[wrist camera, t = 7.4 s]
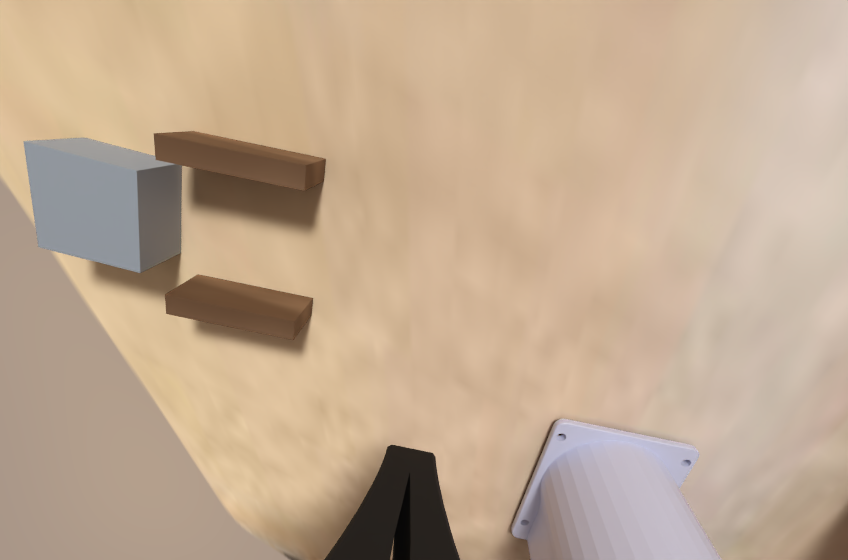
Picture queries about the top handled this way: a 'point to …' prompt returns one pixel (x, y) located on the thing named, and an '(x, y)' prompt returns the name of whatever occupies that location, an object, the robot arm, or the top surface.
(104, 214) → the block
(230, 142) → the channel
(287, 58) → the top surface
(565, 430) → the robot arm
